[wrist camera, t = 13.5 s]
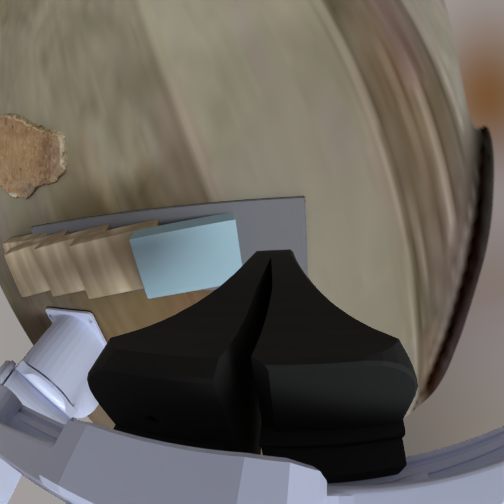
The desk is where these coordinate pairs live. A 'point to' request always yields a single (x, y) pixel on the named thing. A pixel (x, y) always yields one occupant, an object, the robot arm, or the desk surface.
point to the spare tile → (187, 254)
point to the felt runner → (245, 212)
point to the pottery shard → (29, 155)
